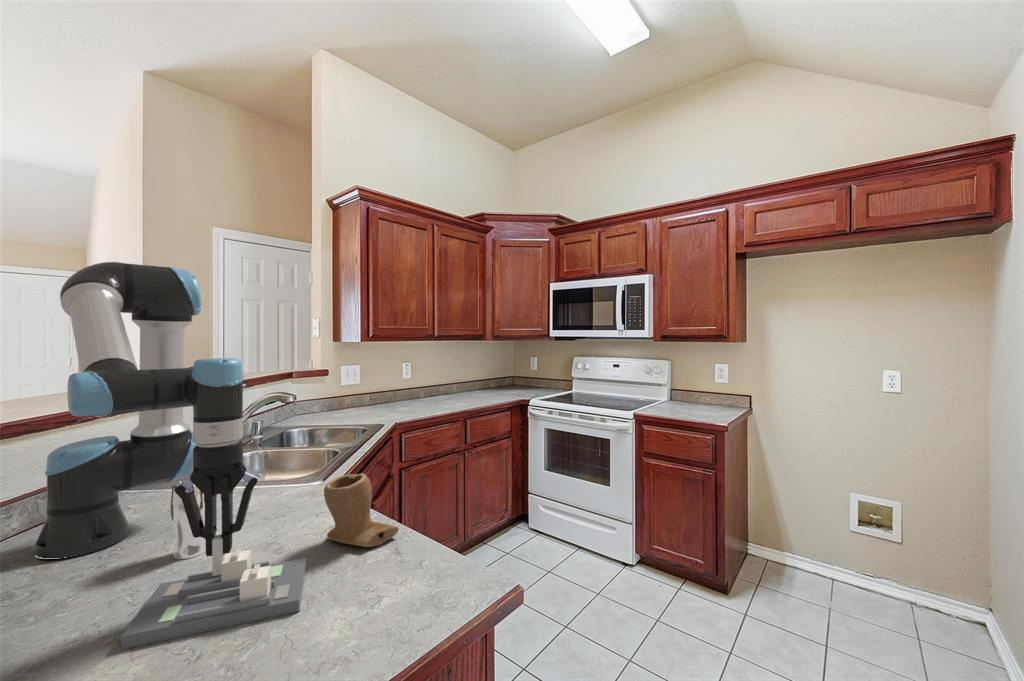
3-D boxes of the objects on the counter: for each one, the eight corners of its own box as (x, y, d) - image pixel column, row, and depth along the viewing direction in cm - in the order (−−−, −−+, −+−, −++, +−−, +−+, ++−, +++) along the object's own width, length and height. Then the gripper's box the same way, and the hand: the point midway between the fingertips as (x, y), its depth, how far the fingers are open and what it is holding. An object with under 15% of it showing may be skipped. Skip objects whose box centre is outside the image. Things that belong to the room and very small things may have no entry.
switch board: (121, 649, 64) (120, 629, 64) (160, 594, 78) (160, 577, 78) (299, 611, 73) (299, 593, 73) (306, 567, 87) (306, 553, 87)
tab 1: (221, 586, 77) (221, 559, 77) (227, 574, 80) (226, 549, 80) (247, 581, 78) (247, 555, 78) (251, 570, 82) (251, 545, 82)
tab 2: (239, 606, 71) (239, 577, 71) (244, 592, 74) (244, 565, 74) (267, 600, 72) (267, 572, 72) (271, 587, 76) (270, 561, 76)
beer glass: (217, 547, 95) (217, 480, 95) (185, 563, 89) (185, 491, 89) (196, 542, 98) (196, 477, 98) (162, 557, 91) (162, 487, 91)
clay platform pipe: (312, 545, 96) (312, 479, 96) (353, 524, 107) (353, 465, 107) (362, 560, 90) (361, 489, 90) (400, 537, 100) (400, 473, 100)
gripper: (167, 450, 72) (167, 590, 72) (255, 443, 77) (256, 574, 77) (182, 441, 79) (183, 568, 79) (263, 435, 84) (263, 555, 84)
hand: (219, 571), depth 78 cm, fingers closed
